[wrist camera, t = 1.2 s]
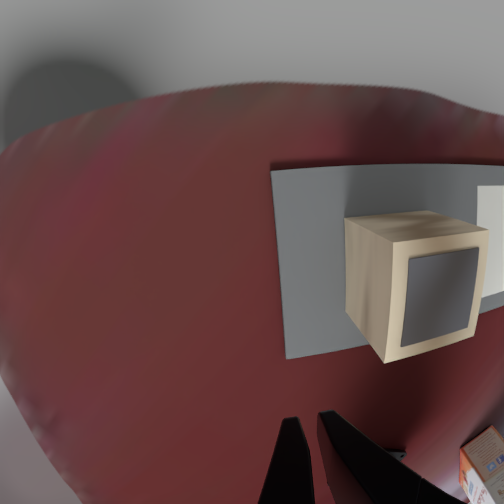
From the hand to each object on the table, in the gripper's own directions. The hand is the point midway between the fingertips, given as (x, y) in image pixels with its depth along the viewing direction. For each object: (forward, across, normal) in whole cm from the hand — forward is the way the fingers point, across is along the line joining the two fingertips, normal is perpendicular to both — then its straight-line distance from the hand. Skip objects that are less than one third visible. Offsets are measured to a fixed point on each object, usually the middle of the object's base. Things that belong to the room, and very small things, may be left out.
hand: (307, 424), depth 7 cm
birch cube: (+12, -8, 0) cm, 14 cm away
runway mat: (+12, -14, 0) cm, 18 cm away
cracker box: (+12, -28, +32) cm, 44 cm away
